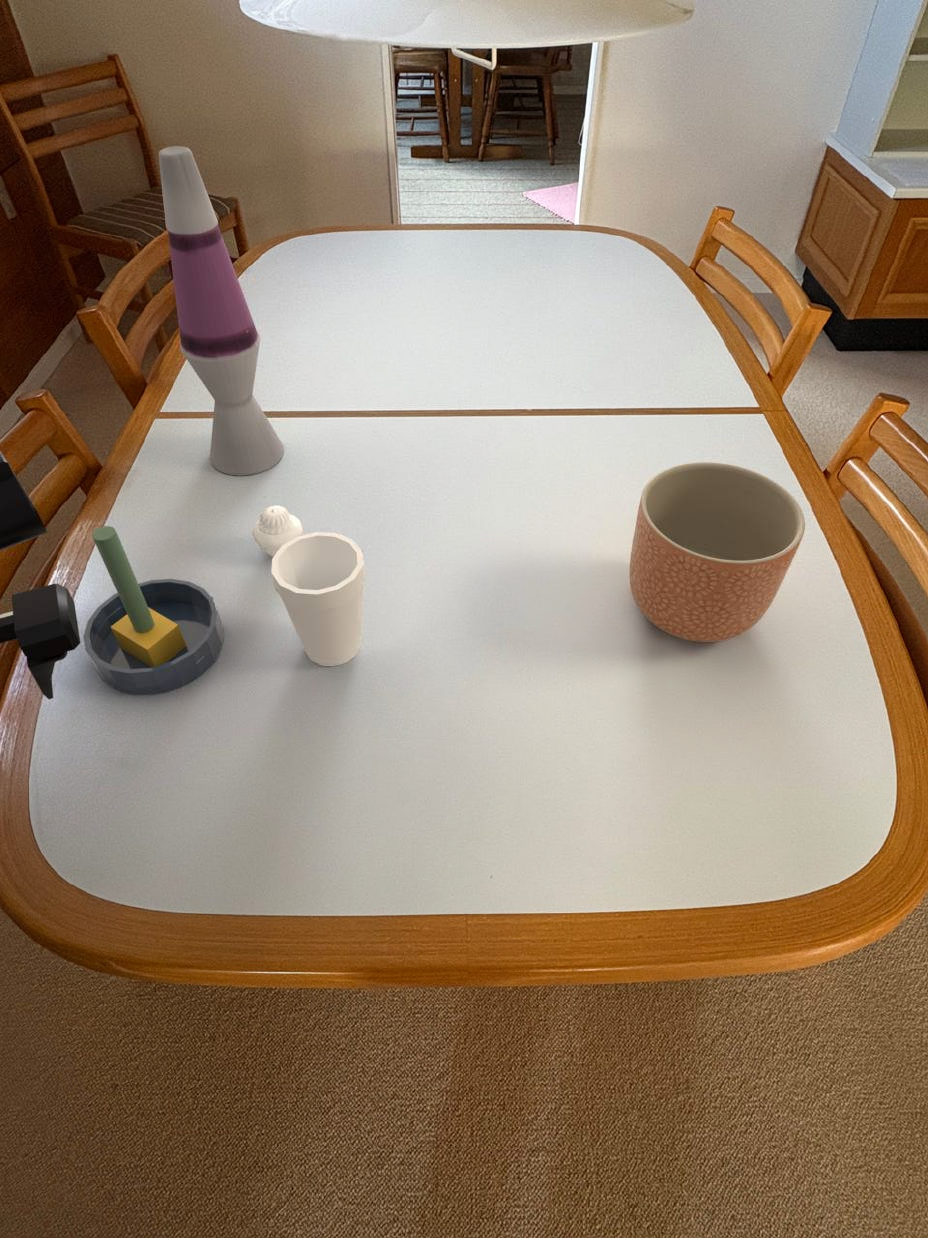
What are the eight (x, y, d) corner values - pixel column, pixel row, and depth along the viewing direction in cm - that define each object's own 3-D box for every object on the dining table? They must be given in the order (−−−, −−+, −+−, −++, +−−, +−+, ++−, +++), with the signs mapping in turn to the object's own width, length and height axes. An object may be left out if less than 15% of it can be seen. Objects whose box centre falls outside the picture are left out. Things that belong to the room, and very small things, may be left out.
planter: (794, 618, 93) (839, 518, 82) (698, 686, 86) (733, 587, 75) (685, 542, 102) (712, 443, 91) (590, 598, 95) (607, 498, 84)
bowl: (104, 712, 84) (91, 690, 81) (89, 623, 92) (77, 600, 90) (236, 669, 88) (229, 647, 85) (210, 588, 96) (202, 565, 94)
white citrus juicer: (312, 538, 103) (304, 495, 98) (298, 570, 99) (289, 527, 93) (266, 533, 103) (256, 491, 98) (251, 565, 99) (239, 522, 94)
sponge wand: (156, 671, 87) (105, 557, 74) (120, 648, 89) (65, 533, 77) (186, 646, 89) (142, 531, 77) (150, 624, 92) (102, 510, 79)
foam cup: (352, 686, 86) (339, 603, 76) (277, 665, 88) (254, 582, 78) (385, 625, 92) (377, 542, 83) (314, 607, 94) (297, 524, 85)
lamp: (205, 441, 118) (120, 140, 89) (277, 427, 120) (217, 130, 91) (215, 482, 111) (126, 171, 82) (290, 467, 113) (230, 159, 84)
